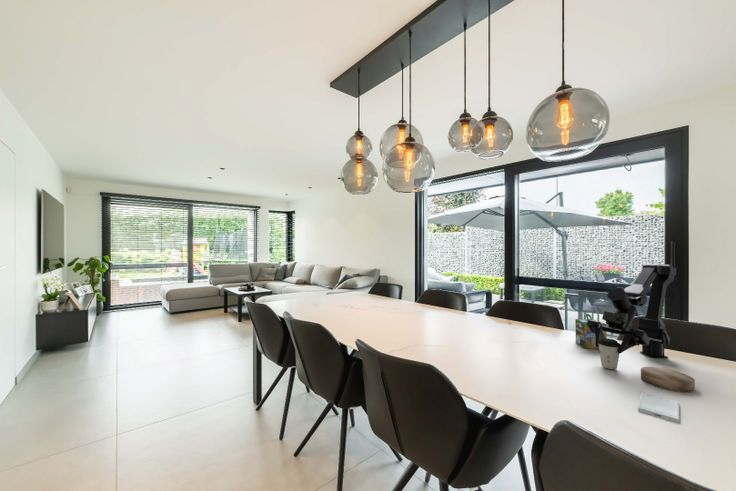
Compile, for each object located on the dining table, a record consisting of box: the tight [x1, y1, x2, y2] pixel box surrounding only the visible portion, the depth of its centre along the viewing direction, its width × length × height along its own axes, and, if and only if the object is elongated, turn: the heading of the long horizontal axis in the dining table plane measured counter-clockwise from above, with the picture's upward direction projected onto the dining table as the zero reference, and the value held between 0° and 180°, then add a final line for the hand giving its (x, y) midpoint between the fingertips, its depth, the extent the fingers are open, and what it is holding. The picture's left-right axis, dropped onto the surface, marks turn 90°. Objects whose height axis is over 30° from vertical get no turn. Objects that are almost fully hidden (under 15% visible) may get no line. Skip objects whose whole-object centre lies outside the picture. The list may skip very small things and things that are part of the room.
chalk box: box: [575, 312, 608, 350], centre depth 141 cm, size 9×9×15 cm
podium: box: [640, 366, 696, 393], centre depth 103 cm, size 13×13×3 cm
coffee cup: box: [598, 337, 621, 370], centre depth 115 cm, size 7×7×10 cm
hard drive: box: [637, 392, 680, 424], centre depth 87 cm, size 2×8×12 cm
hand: (607, 349), depth 115 cm, fingers closed on coffee cup, 7 cm apart
